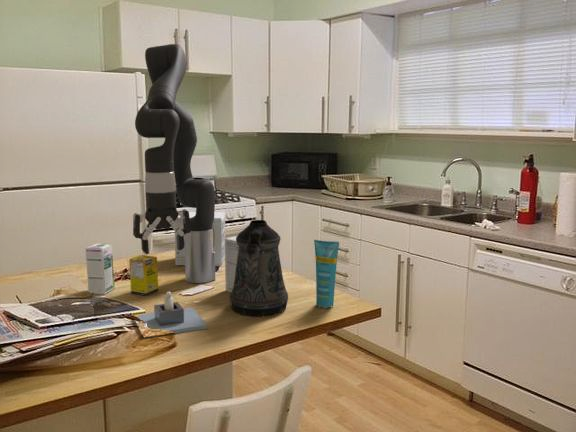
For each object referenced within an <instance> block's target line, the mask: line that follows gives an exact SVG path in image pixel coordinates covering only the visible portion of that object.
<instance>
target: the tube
mask: <svg viewBox="0 0 576 432" xmlns="http://www.w3.org/2000/svg"><path fill="white" fill-rule="evenodd" d="M313 243H314V252H315V253H314V254H315V256H314V257H315V281H316V284H315V287H316V289H315V291H316V296H315V297H316V298H315V299H316V301H315V302H316V304H317V305H316V306H317V307H319V306H320V307H319V308H321V307H330V308H332V307H334V301H335V290H336V289H335V287H336V277H337V262H338V253H339V249H340V248H339V247H340V241H336V240H335V241H331V240H328V241H327V240H320V239H313ZM331 306H332V307H331Z"/></svg>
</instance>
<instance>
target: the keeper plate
mask: <svg viewBox="0 0 576 432" xmlns="http://www.w3.org/2000/svg"><path fill="white" fill-rule="evenodd" d="M173 303H174V297H173V296H172V292H171V291H167V292H165V297H164V304H165V310H172V309H173ZM183 309H184V322H183V323H176V324H170V325H163V326H160V325H159V324H158V322H157V321H156V319H155V313H154V312H150V313H143V314H138V315H139V316H138V318H139V319H140V320H143V321H144V322H145V323H147V327H148V328H151V329H160V330H169V331H172V332H174V333H175V334H178V333H179V334H180V333H186V332H187V333H188V332H194V331H199V330H200V331H201V330H206V329H208V324H207V323H206V321H205V320H204V319H203V318H202V317H201V316H200V315H199V313H198V312H197V311H196V310H195V308H194V307H186V308H184V307H183Z"/></svg>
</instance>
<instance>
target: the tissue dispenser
mask: <svg viewBox="0 0 576 432" xmlns="http://www.w3.org/2000/svg"><path fill="white" fill-rule="evenodd" d="M153 309H154V312H153V313H155V319H156V321H157V322H158V324H159V325H160V326H163V325H170V324H176V323H183V322H184V307H182V306H181V304H180V303H179V301H175V302H174V301H173V309H172V310H165V303H162V304H161V303H160V304H159V303H158V304H154V306H153Z"/></svg>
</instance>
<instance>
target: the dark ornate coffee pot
mask: <svg viewBox="0 0 576 432" xmlns="http://www.w3.org/2000/svg"><path fill="white" fill-rule="evenodd" d="M236 236H237V237H236V242H237V244H238V246H239V250H238V257H237V264H236V271H235V280H234V286H233V290H232V292H230V294H229V301H230V305H231V310H232V311H233V312H234V313H235V314H238V315H240V316H247V317H252V318H253V317H254V318H255V317H257V318H263V317H262V316H265V317H272V315H273V316H276V315H279V314H278V313H280V314H281V312H282V311H283V312H285V311H286V309H287V305H288V300H289V293H288V291H287V289H286V286H285V281H284V276H283V270H282V264H281V258H280V251H279V250H280V249H279V246H280V243H281V236H280V235H279V233H278V232H277V231H275V230H274V229H273V228H272V227H271V226H270V225H269V224H268V222H267V221H266V220H263V219H254V220H250V222H249V225H247V226H246V227H245V228H244V229H242V230H241V231H240V232H239V233H238V234H237V235H236ZM284 310H285V311H284ZM283 312H282V313H283ZM275 314H276V315H275Z"/></svg>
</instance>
